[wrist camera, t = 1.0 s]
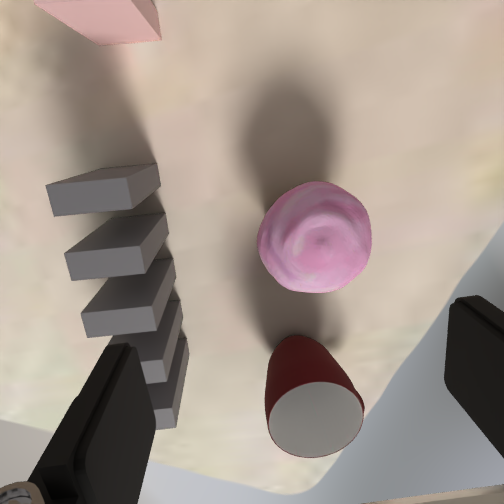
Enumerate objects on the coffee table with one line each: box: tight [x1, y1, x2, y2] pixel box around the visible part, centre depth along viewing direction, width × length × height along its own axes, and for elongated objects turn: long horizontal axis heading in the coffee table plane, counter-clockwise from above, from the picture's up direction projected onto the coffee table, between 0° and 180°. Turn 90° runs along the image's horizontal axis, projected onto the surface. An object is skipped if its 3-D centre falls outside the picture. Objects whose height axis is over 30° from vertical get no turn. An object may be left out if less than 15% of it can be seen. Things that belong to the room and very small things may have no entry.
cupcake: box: [257, 181, 372, 293], centre depth 30 cm, size 9×9×10 cm
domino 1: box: [46, 163, 161, 217], centre depth 27 cm, size 2×5×10 cm, turn 95°
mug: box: [265, 335, 365, 458], centre depth 34 cm, size 10×8×10 cm
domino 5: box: [147, 338, 189, 430], centre depth 33 cm, size 2×5×10 cm, turn 95°
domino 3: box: [81, 258, 176, 338], centre depth 30 cm, size 2×5×10 cm, turn 95°
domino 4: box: [108, 300, 183, 384], centre depth 32 cm, size 2×5×10 cm, turn 95°
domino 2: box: [64, 213, 169, 281], centre depth 29 cm, size 2×5×10 cm, turn 95°
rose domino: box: [34, 0, 162, 46], centre depth 24 cm, size 2×5×10 cm, turn 95°
